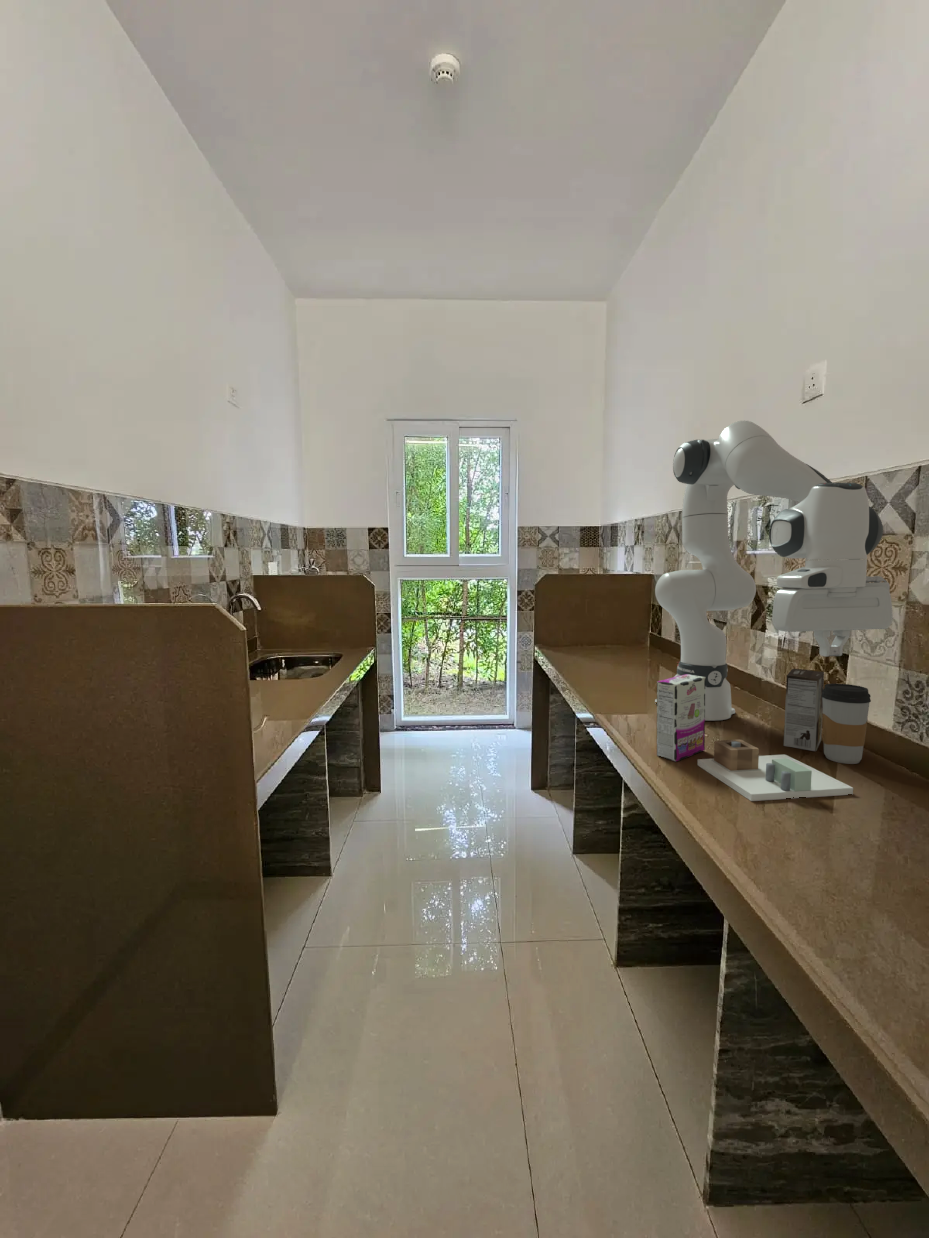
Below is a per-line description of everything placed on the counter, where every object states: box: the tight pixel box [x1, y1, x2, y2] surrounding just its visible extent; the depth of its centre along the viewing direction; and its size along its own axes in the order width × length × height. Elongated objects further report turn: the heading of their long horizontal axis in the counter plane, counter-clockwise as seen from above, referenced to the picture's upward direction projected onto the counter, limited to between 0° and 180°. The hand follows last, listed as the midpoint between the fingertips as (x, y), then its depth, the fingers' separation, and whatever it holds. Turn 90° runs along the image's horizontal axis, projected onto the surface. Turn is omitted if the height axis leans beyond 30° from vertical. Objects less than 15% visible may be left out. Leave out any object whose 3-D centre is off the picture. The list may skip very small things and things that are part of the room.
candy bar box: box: [656, 674, 706, 762], centre depth 115 cm, size 11×5×16 cm, turn 126°
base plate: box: [697, 741, 854, 802], centre depth 101 cm, size 17×19×6 cm
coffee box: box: [783, 668, 825, 752], centre depth 120 cm, size 9×6×16 cm
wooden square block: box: [713, 739, 760, 771], centre depth 105 cm, size 6×6×4 cm
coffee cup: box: [821, 683, 872, 765], centre depth 110 cm, size 8×8×15 cm
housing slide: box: [772, 759, 812, 791], centre depth 96 cm, size 6×3×4 cm, turn 6°
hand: (830, 655), depth 94 cm, fingers closed
